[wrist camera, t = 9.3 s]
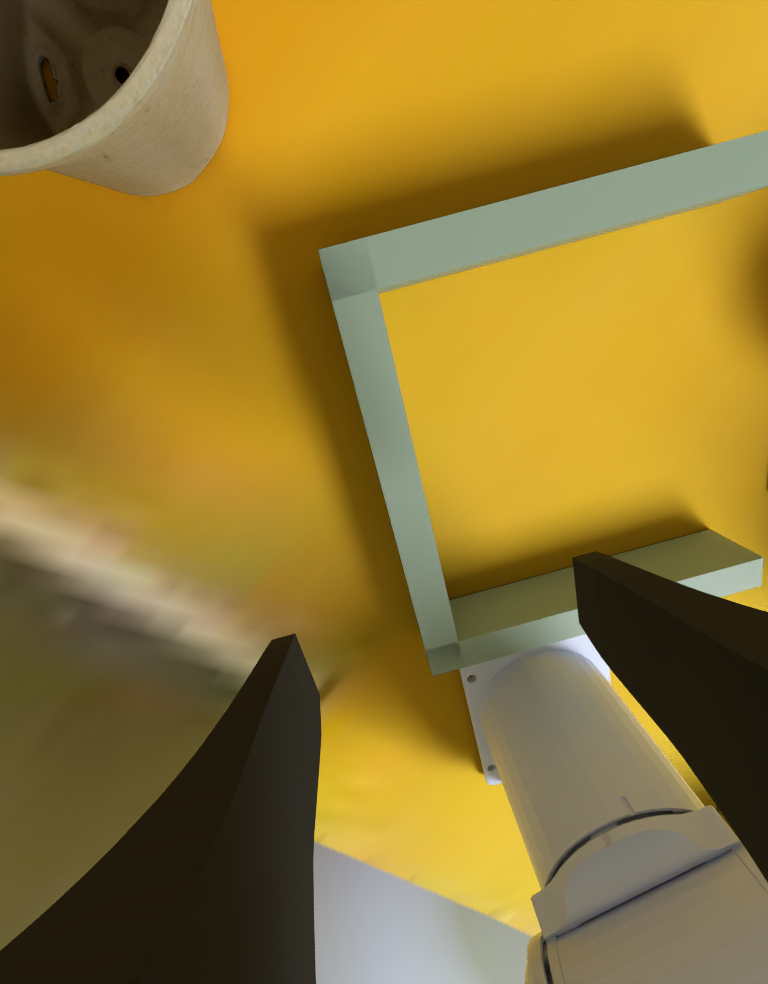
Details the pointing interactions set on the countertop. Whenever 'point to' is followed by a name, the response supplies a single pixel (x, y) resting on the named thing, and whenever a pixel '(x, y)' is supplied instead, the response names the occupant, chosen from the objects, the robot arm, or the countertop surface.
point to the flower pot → (112, 91)
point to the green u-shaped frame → (354, 295)
